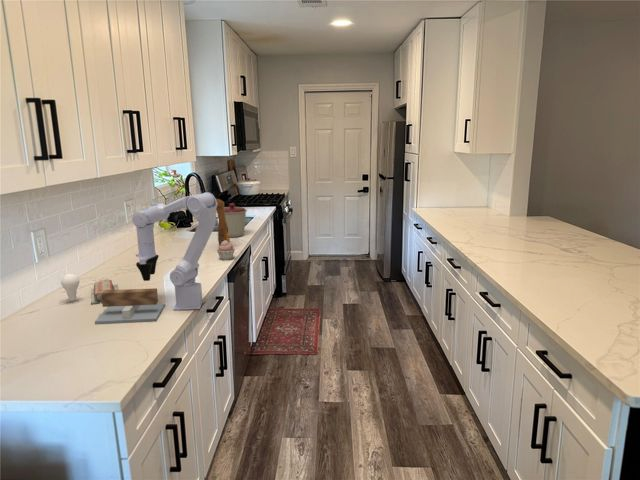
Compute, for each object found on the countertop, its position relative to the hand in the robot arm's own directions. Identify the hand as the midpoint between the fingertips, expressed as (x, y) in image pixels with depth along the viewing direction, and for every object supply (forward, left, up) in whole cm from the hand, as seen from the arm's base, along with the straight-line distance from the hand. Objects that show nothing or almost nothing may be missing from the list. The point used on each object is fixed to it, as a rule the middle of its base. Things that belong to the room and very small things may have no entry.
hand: (149, 277), depth 166 cm
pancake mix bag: (-20, -83, -10) cm, 86 cm away
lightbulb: (+30, -4, -10) cm, 32 cm away
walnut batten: (+4, +12, -6) cm, 14 cm away
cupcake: (-24, -58, -10) cm, 64 cm away
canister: (-24, -112, -10) cm, 115 cm away
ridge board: (+4, +12, -10) cm, 16 cm away
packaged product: (+20, -9, -11) cm, 25 cm away
